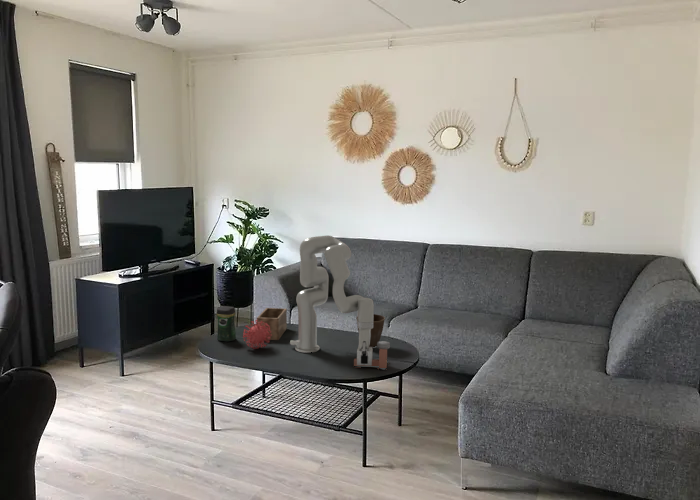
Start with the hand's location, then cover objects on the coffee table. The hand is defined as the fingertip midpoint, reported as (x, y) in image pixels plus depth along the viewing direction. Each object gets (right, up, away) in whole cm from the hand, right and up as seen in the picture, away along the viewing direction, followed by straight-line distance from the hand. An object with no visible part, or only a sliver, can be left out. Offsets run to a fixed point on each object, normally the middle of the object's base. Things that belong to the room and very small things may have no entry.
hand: (364, 360), depth 270 cm
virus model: (-55, +1, +25) cm, 61 cm away
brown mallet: (+3, -3, 0) cm, 5 cm away
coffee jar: (-74, +4, +39) cm, 84 cm away
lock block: (0, -1, 0) cm, 1 cm away
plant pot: (+4, +1, +30) cm, 30 cm away
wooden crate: (-51, +5, +50) cm, 72 cm away
